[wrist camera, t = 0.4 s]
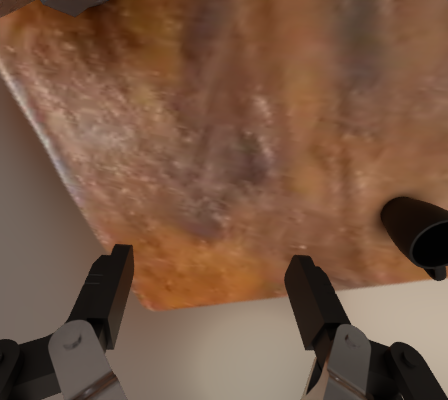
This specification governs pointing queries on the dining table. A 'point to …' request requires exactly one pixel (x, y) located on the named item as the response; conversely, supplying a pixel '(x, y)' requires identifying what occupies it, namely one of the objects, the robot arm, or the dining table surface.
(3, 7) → the lid
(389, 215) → the mug
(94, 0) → the oval food canister
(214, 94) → the dining table surface
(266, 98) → the dining table surface
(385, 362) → the robot arm
